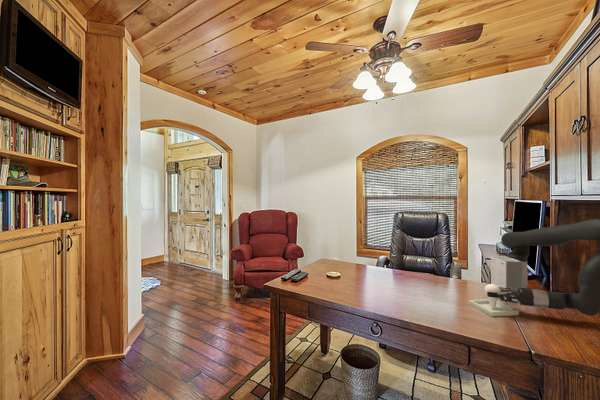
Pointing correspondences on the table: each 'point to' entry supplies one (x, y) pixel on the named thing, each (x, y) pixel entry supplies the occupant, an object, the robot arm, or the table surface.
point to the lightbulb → (496, 290)
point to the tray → (493, 312)
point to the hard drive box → (506, 272)
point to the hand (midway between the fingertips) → (486, 291)
